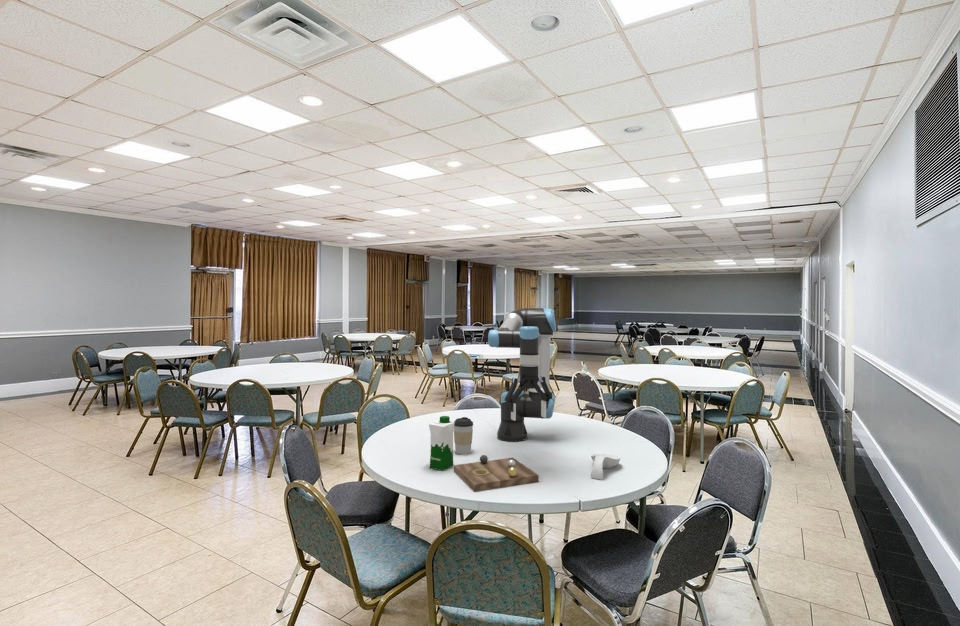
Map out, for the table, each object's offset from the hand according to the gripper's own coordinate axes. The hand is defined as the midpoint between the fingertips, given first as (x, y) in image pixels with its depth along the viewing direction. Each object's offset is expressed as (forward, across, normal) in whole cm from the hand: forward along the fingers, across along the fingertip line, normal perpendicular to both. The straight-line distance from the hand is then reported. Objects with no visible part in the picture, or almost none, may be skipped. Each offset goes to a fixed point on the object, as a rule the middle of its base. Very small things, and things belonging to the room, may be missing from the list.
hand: (528, 418), depth 191 cm
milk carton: (+21, +31, -17) cm, 41 cm away
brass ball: (+17, +12, +10) cm, 23 cm away
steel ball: (+17, +8, +1) cm, 19 cm away
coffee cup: (+21, +16, -32) cm, 42 cm away
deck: (+21, +15, +1) cm, 26 cm away
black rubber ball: (+17, +16, -8) cm, 25 cm away
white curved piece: (+22, -29, +10) cm, 37 cm away
